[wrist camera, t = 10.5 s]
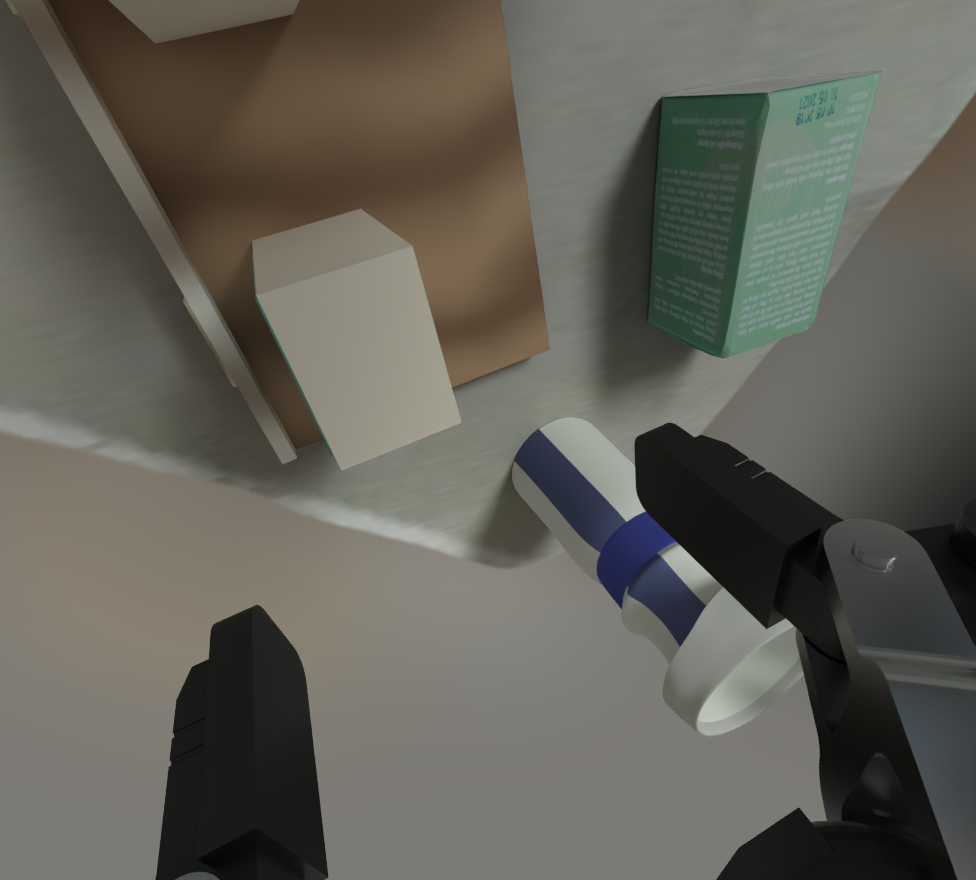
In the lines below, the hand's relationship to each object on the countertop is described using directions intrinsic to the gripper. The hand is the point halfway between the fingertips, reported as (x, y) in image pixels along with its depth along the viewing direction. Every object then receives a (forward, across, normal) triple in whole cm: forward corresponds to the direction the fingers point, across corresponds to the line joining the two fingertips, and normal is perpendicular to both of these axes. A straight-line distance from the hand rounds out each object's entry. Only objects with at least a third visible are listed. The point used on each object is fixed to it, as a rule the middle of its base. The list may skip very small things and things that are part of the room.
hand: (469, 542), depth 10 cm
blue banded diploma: (+20, -11, +17) cm, 29 cm away
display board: (+20, -3, -5) cm, 21 cm away
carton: (+18, 0, 0) cm, 18 cm away
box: (+20, -23, +3) cm, 31 cm away
